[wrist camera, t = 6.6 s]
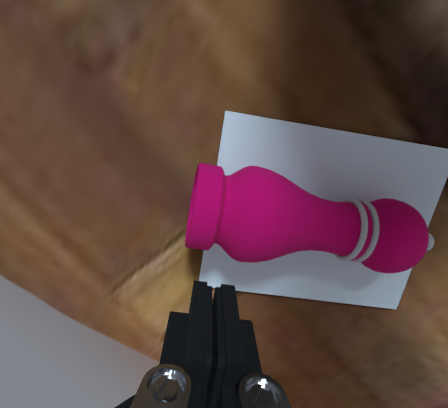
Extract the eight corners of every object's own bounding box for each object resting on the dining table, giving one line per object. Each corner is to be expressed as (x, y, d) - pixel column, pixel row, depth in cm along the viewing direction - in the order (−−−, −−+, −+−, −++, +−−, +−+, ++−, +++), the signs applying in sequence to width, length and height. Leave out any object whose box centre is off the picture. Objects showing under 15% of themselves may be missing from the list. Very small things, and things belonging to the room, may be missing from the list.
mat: (225, 110, 24) (225, 110, 24) (452, 149, 26) (457, 150, 25) (198, 282, 29) (198, 286, 28) (392, 305, 30) (396, 309, 30)
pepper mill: (193, 180, 26) (394, 214, 29) (181, 261, 24) (403, 290, 27) (203, 135, 20) (462, 186, 23) (188, 241, 17) (483, 283, 20)
